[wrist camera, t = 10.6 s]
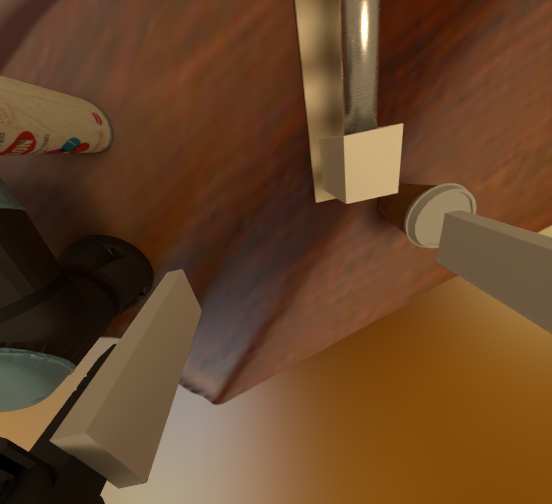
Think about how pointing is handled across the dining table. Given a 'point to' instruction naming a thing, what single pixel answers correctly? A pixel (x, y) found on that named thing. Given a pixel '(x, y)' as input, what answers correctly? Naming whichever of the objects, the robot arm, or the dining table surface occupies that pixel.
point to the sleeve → (362, 163)
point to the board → (320, 77)
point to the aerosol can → (49, 122)
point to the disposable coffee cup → (425, 209)
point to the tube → (359, 63)
